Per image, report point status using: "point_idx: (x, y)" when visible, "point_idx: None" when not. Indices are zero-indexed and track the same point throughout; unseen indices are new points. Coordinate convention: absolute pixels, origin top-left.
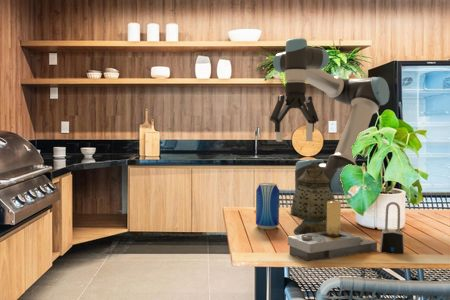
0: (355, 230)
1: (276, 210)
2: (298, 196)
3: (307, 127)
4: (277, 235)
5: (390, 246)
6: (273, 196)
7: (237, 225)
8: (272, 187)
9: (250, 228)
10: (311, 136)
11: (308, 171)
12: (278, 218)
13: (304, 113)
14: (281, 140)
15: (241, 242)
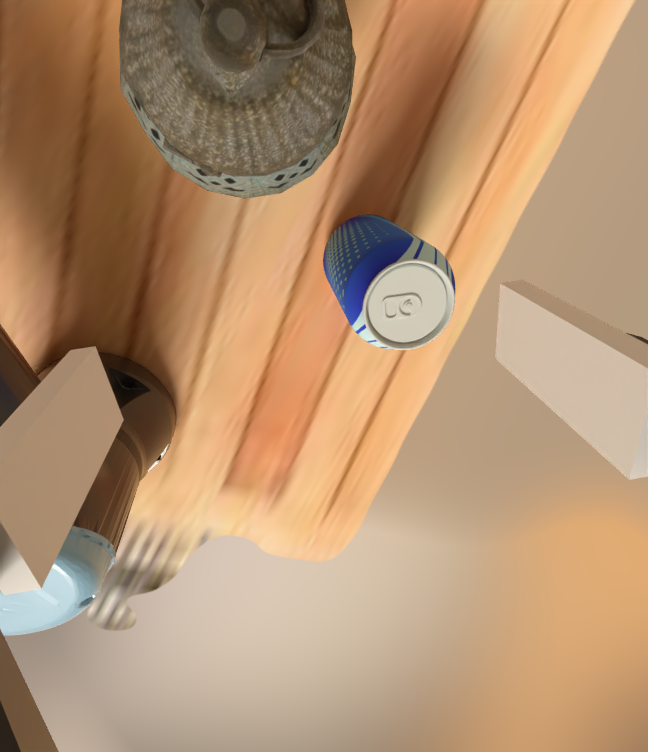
0: (24, 67)
1: (362, 228)
2: (352, 55)
3: (56, 514)
4: (395, 117)
5: None
6: (396, 235)
7: None
8: (408, 256)
9: None
10: (64, 373)
11: (302, 11)
12: (339, 233)
13: (41, 744)
14: (517, 284)
15: (567, 64)
